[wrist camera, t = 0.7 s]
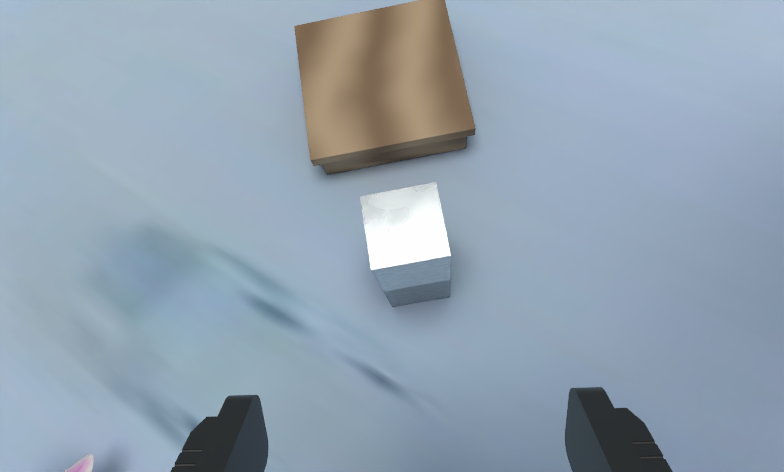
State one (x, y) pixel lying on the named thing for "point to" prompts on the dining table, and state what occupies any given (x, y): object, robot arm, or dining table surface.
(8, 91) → the dining table surface
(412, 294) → the block
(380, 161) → the walnut stand
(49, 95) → the dining table surface
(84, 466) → the lily
